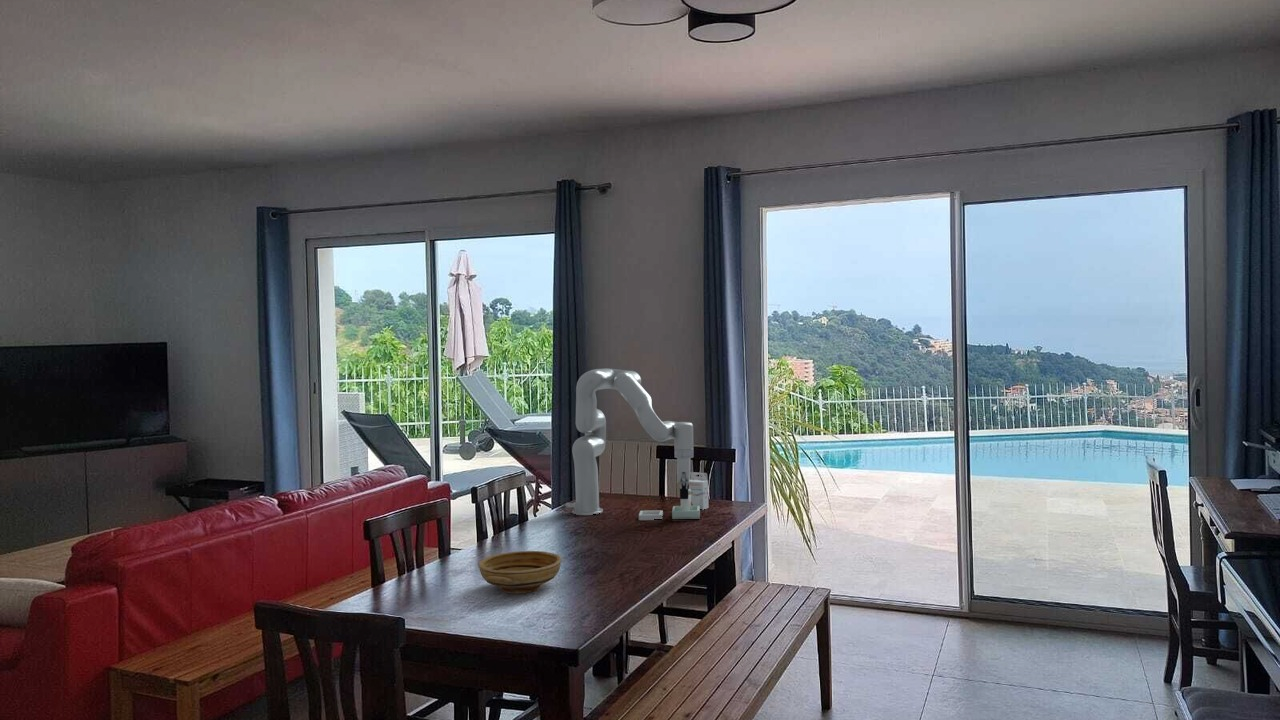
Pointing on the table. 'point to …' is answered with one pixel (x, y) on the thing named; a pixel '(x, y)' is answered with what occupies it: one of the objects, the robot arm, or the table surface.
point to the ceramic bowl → (520, 570)
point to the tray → (686, 513)
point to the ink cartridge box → (699, 490)
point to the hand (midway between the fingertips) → (684, 496)
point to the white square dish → (650, 515)
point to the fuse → (686, 502)
